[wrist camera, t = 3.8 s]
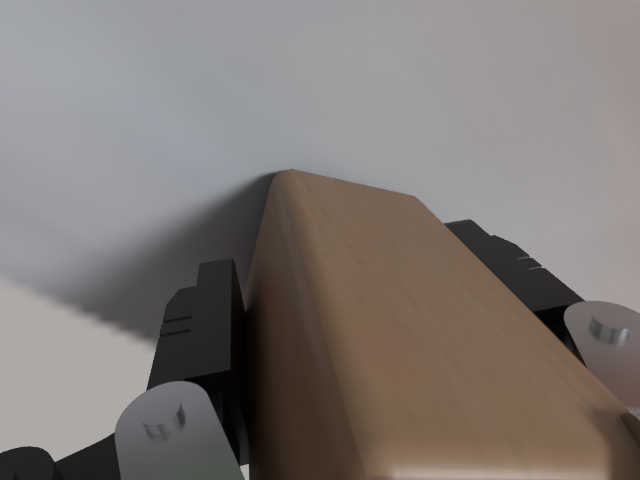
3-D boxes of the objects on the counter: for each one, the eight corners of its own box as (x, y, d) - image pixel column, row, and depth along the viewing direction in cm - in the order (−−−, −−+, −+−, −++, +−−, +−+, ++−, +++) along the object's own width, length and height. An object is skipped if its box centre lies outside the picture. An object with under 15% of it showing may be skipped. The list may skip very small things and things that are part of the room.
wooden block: (240, 298, 12) (249, 712, 5) (273, 160, 10) (359, 480, 3) (372, 315, 13) (537, 670, 6) (421, 193, 11) (729, 485, 4)
